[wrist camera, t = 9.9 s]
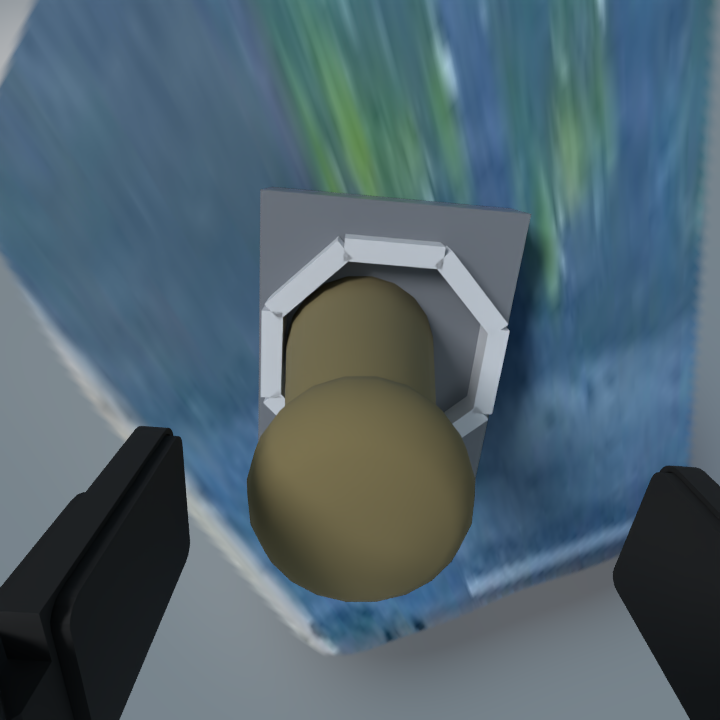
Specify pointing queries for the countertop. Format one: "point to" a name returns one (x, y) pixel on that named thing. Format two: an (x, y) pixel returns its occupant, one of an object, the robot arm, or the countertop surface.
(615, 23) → the countertop surface
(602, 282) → the countertop surface
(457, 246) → the octagon ring plate
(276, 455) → the cork
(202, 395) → the countertop surface
